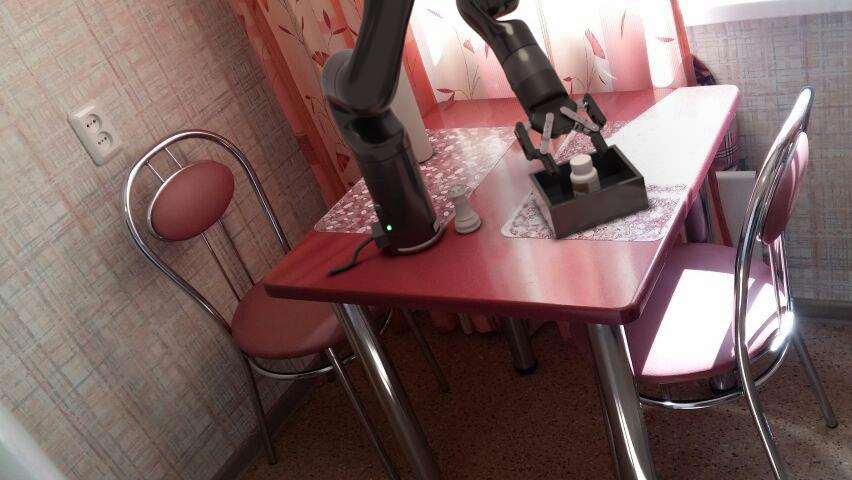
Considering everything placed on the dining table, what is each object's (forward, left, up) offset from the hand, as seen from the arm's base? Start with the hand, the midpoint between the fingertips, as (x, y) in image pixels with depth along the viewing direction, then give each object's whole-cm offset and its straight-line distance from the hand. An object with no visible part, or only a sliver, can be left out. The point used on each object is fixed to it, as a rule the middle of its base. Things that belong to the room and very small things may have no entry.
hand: (581, 165), depth 129 cm
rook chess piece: (-20, +7, -8) cm, 22 cm away
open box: (0, +1, -8) cm, 8 cm away
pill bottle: (0, +1, -7) cm, 7 cm away
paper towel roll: (-24, +41, -8) cm, 49 cm away
